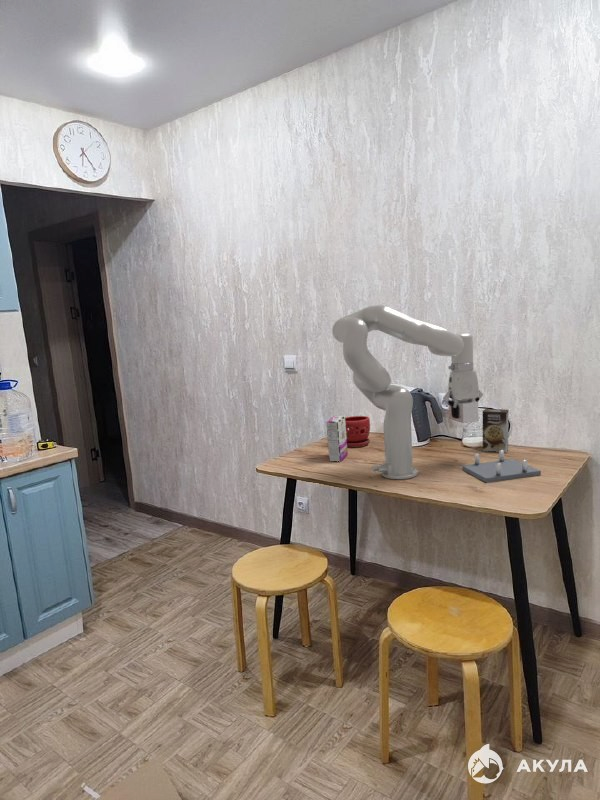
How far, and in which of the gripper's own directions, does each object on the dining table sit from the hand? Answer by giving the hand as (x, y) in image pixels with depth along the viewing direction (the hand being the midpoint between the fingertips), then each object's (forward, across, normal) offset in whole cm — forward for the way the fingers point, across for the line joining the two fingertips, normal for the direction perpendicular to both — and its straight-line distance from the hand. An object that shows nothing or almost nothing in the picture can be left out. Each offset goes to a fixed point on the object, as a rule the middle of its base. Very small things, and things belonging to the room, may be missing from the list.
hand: (463, 416), depth 199 cm
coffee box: (+18, +19, +10) cm, 28 cm away
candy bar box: (+18, -40, +28) cm, 52 cm away
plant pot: (+18, -26, +46) cm, 56 cm away
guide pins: (+16, +5, -16) cm, 23 cm away
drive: (+1, 0, 0) cm, 1 cm away
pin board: (+17, +5, -16) cm, 24 cm away
